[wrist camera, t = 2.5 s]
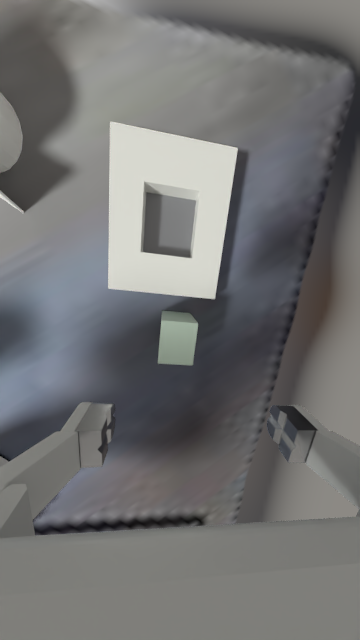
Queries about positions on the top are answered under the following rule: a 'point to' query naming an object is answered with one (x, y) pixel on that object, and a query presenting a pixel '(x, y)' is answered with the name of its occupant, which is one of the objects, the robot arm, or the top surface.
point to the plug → (177, 338)
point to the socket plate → (167, 211)
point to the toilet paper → (9, 140)
